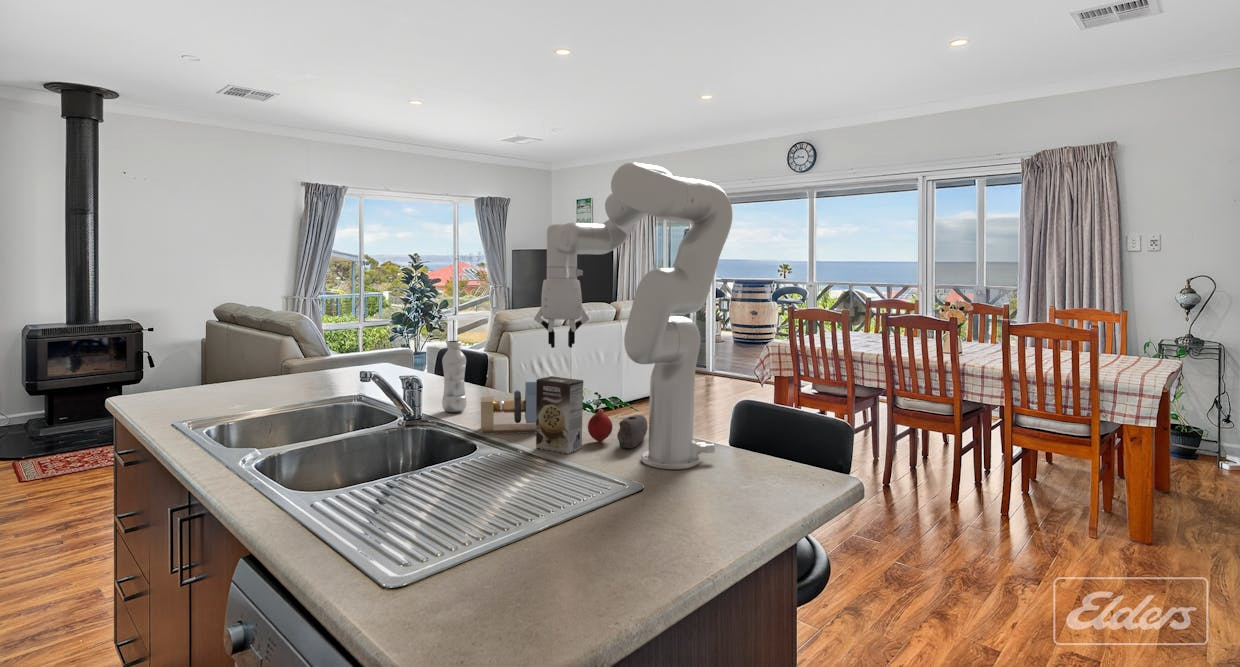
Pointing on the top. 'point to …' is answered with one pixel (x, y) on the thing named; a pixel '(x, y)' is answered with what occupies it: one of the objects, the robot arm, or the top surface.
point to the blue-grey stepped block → (530, 401)
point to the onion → (600, 426)
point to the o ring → (517, 406)
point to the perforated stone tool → (632, 431)
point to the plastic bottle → (454, 378)
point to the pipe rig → (501, 407)
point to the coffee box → (559, 414)
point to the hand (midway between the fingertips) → (561, 346)
